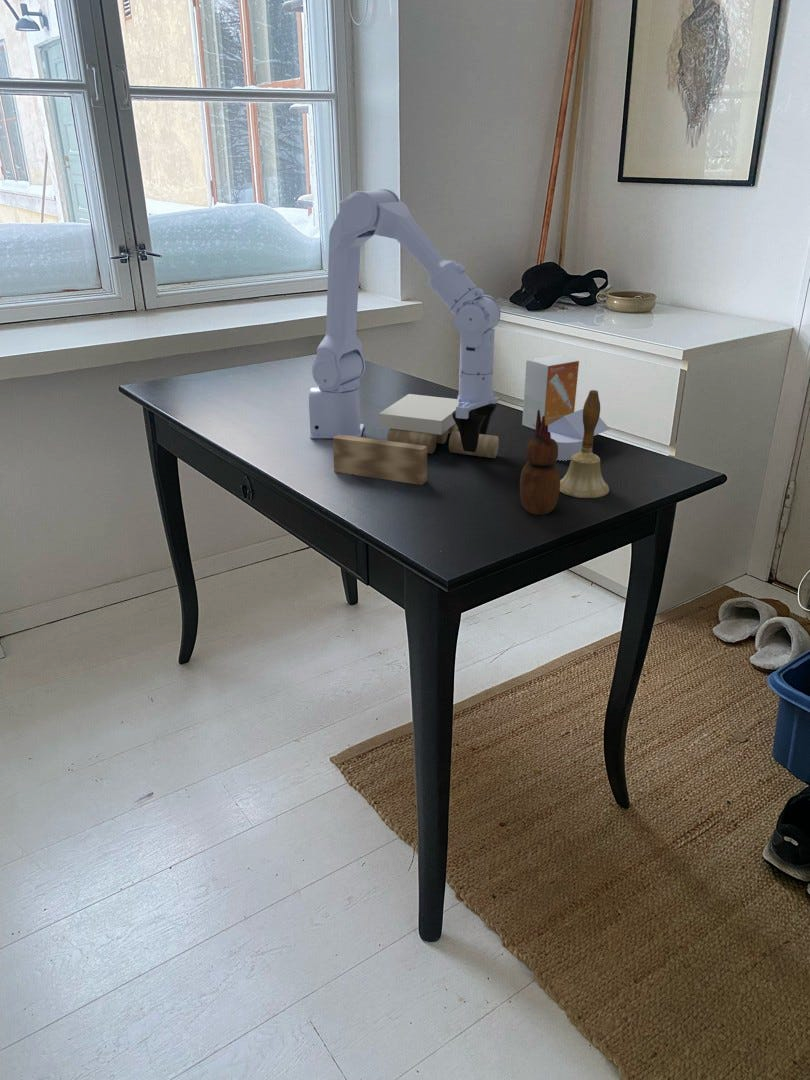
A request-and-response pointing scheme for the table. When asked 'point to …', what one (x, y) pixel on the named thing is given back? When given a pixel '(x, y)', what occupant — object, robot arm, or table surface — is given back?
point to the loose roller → (484, 448)
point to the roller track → (419, 437)
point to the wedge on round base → (571, 434)
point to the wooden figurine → (540, 472)
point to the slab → (420, 414)
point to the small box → (549, 389)
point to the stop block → (380, 459)
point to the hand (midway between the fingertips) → (473, 447)
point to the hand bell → (586, 458)
